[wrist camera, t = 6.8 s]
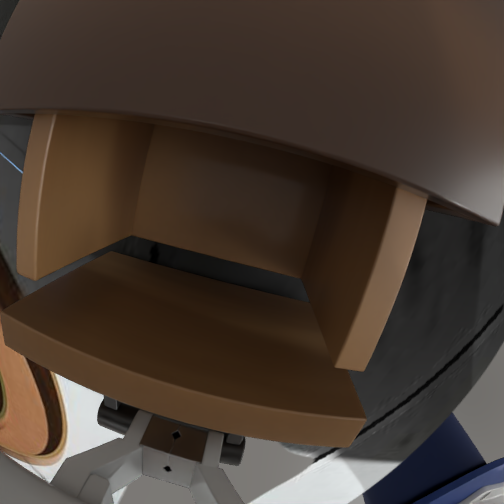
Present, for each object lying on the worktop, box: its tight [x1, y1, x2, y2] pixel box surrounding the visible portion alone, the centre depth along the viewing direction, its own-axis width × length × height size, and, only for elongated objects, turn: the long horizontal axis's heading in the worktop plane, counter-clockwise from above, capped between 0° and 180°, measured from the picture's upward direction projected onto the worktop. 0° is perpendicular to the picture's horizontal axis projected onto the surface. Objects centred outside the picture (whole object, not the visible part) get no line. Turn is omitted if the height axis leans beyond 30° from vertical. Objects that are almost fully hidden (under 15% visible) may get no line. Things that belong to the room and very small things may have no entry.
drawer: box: [0, 114, 427, 466], centre depth 9 cm, size 19×10×8 cm, turn 166°
